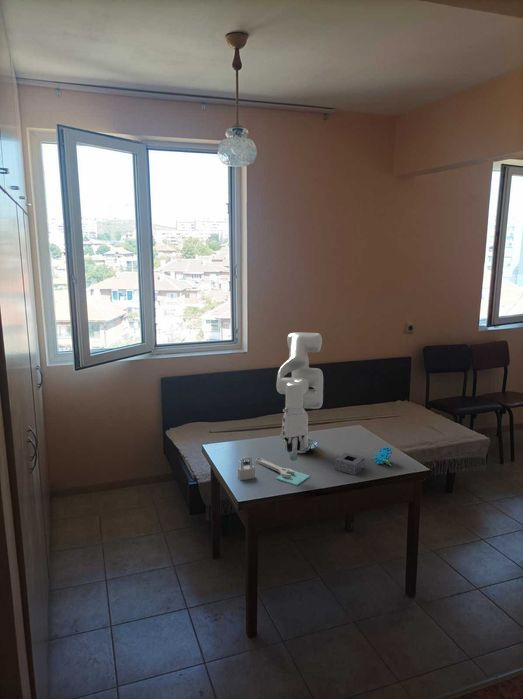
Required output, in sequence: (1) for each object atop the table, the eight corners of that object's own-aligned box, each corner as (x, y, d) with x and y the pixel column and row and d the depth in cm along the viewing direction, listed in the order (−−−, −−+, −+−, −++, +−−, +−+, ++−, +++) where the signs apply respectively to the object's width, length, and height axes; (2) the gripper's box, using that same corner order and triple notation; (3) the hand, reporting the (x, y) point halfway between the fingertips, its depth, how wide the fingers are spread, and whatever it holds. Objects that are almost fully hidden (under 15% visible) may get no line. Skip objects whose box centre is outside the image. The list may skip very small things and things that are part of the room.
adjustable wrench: (254, 461, 238) (254, 458, 238) (265, 458, 242) (265, 455, 242) (286, 479, 218) (286, 475, 218) (297, 475, 222) (297, 471, 221)
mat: (276, 479, 220) (276, 477, 220) (289, 470, 228) (289, 469, 228) (297, 485, 213) (297, 484, 213) (310, 476, 222) (310, 475, 222)
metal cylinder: (292, 461, 216) (292, 435, 214) (288, 458, 219) (288, 432, 217) (298, 459, 218) (299, 433, 216) (295, 457, 221) (295, 431, 219)
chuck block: (335, 469, 230) (335, 459, 229) (344, 462, 238) (345, 452, 237) (354, 475, 224) (355, 464, 223) (364, 467, 232) (364, 457, 231)
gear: (370, 455, 242) (386, 442, 240) (378, 462, 243) (393, 449, 242) (377, 467, 231) (393, 454, 230) (385, 475, 233) (401, 461, 231)
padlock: (240, 481, 218) (240, 459, 216) (237, 477, 222) (237, 456, 220) (255, 478, 221) (255, 457, 219) (252, 474, 224) (252, 453, 223)
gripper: (280, 415, 208) (280, 456, 212) (314, 410, 215) (314, 450, 218) (273, 410, 215) (272, 450, 218) (306, 405, 222) (305, 444, 225)
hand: (293, 449), depth 218 cm, fingers closed on metal cylinder, 3 cm apart
